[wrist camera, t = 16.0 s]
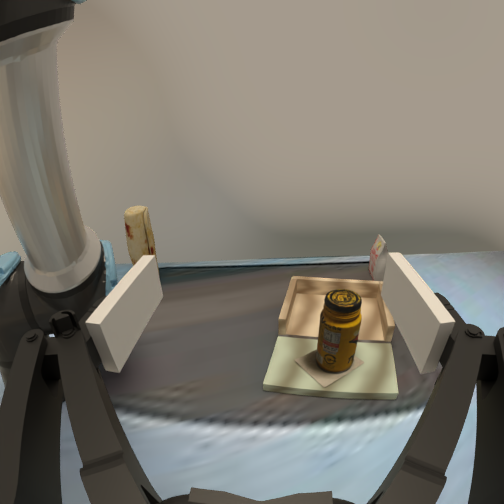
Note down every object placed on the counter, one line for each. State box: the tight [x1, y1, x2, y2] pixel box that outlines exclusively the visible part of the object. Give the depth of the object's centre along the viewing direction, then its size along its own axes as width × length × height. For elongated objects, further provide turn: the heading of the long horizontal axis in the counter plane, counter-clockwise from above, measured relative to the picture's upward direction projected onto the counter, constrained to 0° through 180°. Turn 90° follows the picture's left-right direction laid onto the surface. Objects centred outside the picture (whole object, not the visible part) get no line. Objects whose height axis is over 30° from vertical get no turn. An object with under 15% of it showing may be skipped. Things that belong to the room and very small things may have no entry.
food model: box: [124, 206, 159, 274], centre depth 72 cm, size 10×7×20 cm
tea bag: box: [369, 235, 388, 281], centre depth 70 cm, size 4×7×10 cm, turn 171°
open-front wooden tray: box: [263, 276, 398, 400], centre depth 50 cm, size 20×28×5 cm
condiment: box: [295, 289, 364, 387], centre depth 41 cm, size 7×8×12 cm
